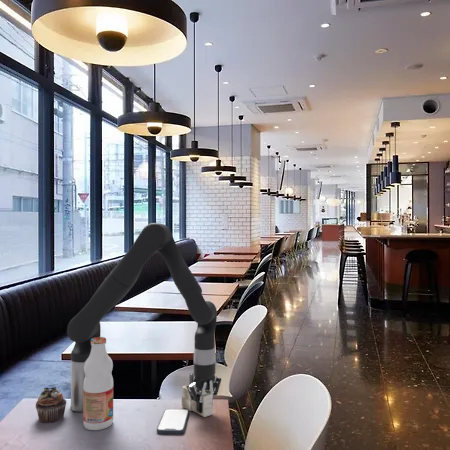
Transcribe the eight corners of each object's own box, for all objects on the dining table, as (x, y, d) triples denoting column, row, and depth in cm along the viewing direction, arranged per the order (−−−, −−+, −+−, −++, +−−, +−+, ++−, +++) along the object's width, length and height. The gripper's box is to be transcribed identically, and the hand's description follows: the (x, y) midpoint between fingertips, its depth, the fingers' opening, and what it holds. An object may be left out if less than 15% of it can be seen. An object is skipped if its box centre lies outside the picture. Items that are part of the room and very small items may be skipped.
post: (188, 407, 150) (188, 373, 150) (192, 406, 151) (192, 372, 151) (191, 408, 149) (191, 375, 149) (194, 407, 150) (194, 374, 150)
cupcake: (66, 421, 140) (66, 391, 140) (34, 426, 136) (34, 395, 136) (66, 409, 149) (66, 381, 149) (36, 414, 145) (36, 385, 145)
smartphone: (164, 413, 147) (155, 435, 131) (164, 408, 147) (155, 430, 131) (189, 413, 147) (183, 435, 131) (189, 409, 147) (183, 430, 131)
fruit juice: (79, 422, 139) (79, 337, 139) (108, 415, 144) (108, 333, 144) (87, 434, 131) (87, 344, 131) (117, 426, 136) (117, 339, 136)
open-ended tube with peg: (181, 406, 150) (181, 386, 150) (192, 402, 154) (193, 383, 154) (202, 418, 141) (202, 397, 141) (213, 413, 145) (214, 393, 145)
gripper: (213, 353, 152) (213, 401, 152) (181, 362, 143) (181, 412, 143) (227, 358, 146) (227, 408, 146) (194, 367, 137) (194, 420, 137)
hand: (204, 410), depth 145 cm, fingers closed on open-ended tube with peg, 3 cm apart
